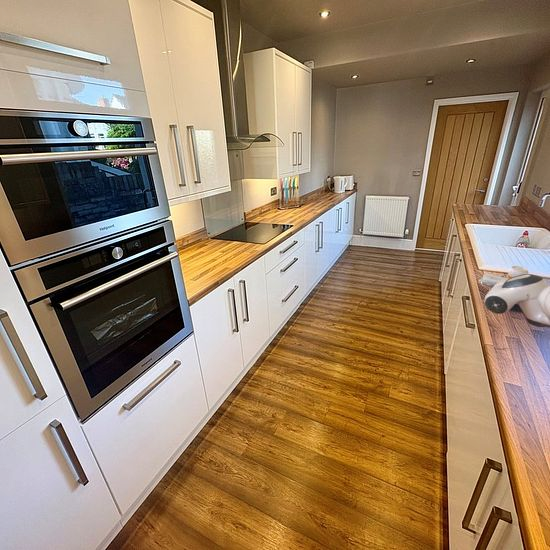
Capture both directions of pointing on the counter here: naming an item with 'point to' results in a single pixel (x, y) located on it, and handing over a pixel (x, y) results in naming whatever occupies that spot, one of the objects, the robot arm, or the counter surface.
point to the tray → (515, 307)
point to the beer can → (516, 271)
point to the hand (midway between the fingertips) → (515, 280)
